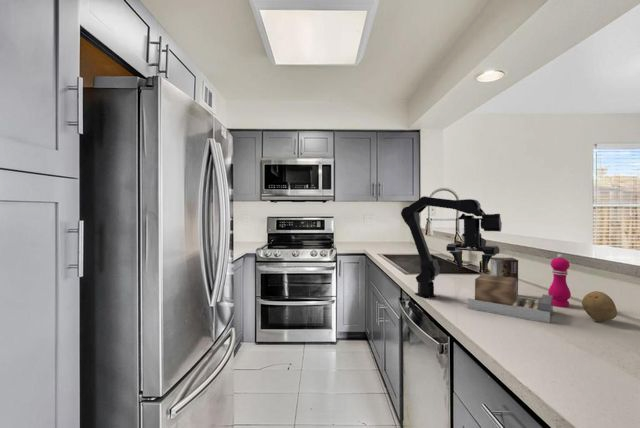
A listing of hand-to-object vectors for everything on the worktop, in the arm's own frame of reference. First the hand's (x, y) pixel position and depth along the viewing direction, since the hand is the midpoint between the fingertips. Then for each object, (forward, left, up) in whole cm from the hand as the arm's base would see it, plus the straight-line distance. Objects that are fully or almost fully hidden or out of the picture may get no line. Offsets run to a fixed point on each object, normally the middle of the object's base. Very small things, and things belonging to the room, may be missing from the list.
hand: (472, 270), depth 133 cm
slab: (+8, +4, -10) cm, 13 cm away
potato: (+31, +23, -13) cm, 41 cm away
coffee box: (-4, +22, -13) cm, 26 cm away
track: (+11, +6, -13) cm, 18 cm away
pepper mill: (+14, +30, -13) cm, 36 cm away
